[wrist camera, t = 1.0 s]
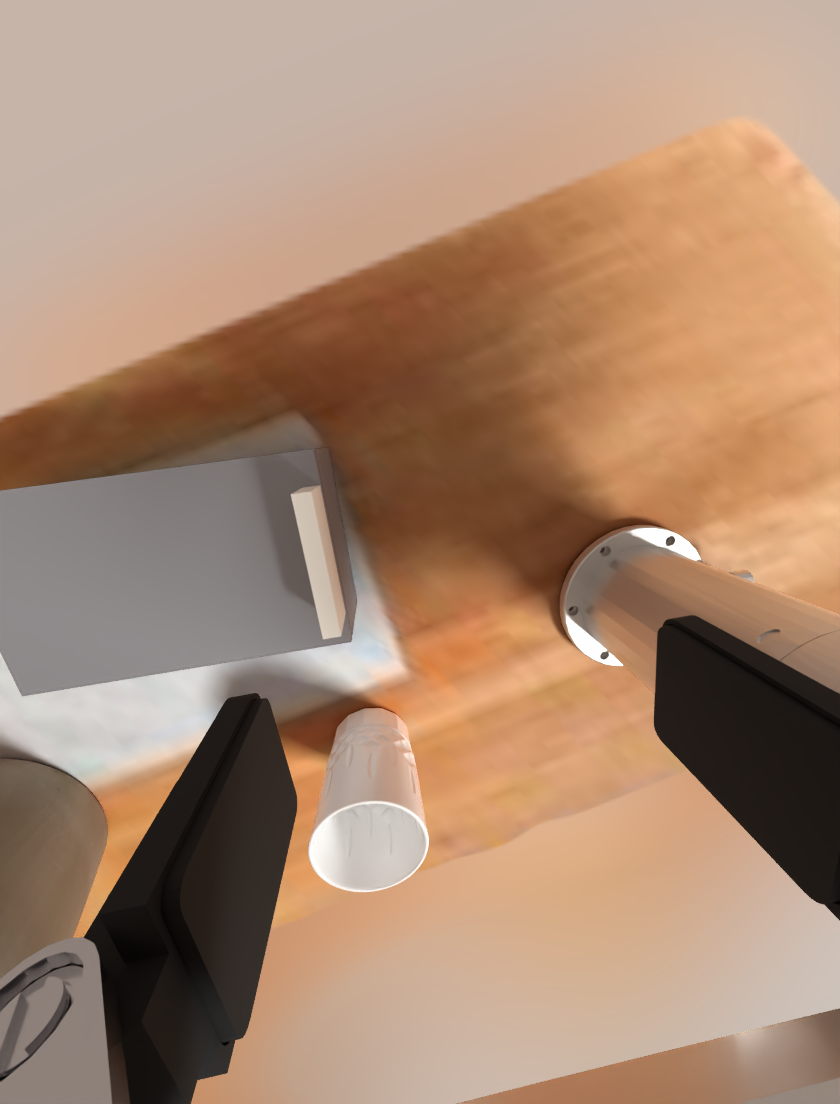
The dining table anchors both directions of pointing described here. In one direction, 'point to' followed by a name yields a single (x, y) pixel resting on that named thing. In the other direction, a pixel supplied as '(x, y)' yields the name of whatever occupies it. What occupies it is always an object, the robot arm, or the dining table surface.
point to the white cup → (369, 806)
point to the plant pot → (44, 857)
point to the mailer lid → (166, 571)
